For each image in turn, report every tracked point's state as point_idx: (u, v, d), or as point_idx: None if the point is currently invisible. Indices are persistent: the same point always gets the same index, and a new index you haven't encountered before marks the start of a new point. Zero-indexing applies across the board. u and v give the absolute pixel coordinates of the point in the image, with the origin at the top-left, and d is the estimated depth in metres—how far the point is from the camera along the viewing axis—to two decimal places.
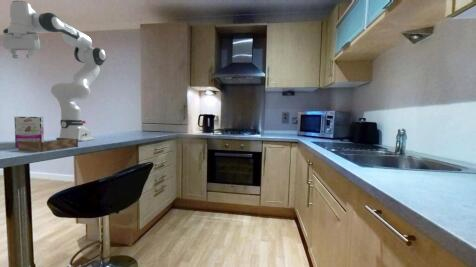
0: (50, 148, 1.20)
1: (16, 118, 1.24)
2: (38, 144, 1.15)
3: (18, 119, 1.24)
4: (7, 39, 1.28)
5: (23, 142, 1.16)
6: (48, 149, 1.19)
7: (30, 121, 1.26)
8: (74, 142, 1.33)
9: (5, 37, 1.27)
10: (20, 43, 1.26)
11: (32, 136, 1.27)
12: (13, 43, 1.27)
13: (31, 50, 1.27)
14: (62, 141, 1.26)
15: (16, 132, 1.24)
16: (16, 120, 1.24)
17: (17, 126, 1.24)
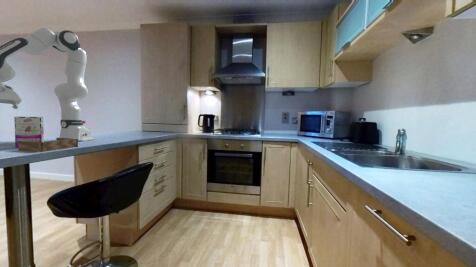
0: (50, 148, 1.20)
1: (16, 118, 1.23)
2: (38, 144, 1.15)
3: (18, 119, 1.24)
4: None
5: (23, 142, 1.16)
6: (48, 149, 1.19)
7: (30, 121, 1.26)
8: (74, 142, 1.33)
9: None
10: None
11: (32, 136, 1.27)
12: None
13: None
14: (62, 141, 1.26)
15: (16, 132, 1.24)
16: (16, 120, 1.24)
17: (17, 126, 1.24)
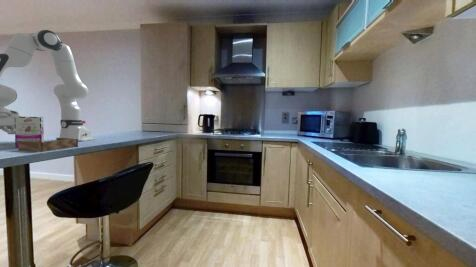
0: (50, 148, 1.20)
1: (16, 118, 1.24)
2: (38, 144, 1.15)
3: (18, 119, 1.24)
4: None
5: (23, 142, 1.16)
6: (48, 149, 1.19)
7: (30, 121, 1.26)
8: (74, 142, 1.33)
9: None
10: None
11: (32, 136, 1.27)
12: None
13: (2, 128, 1.28)
14: (62, 141, 1.26)
15: (16, 132, 1.24)
16: (16, 120, 1.24)
17: (17, 126, 1.24)
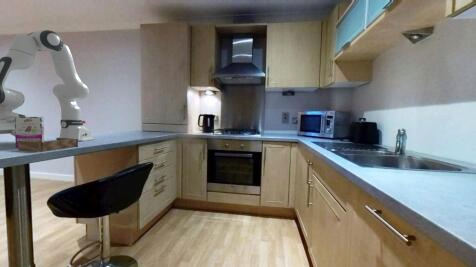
0: (50, 148, 1.20)
1: (16, 118, 1.23)
2: (38, 144, 1.15)
3: (18, 119, 1.24)
4: None
5: (23, 142, 1.16)
6: (48, 149, 1.19)
7: (30, 121, 1.26)
8: (74, 142, 1.33)
9: None
10: None
11: (32, 136, 1.27)
12: None
13: (11, 132, 1.27)
14: (62, 141, 1.26)
15: (16, 132, 1.24)
16: (17, 120, 1.23)
17: (17, 126, 1.24)
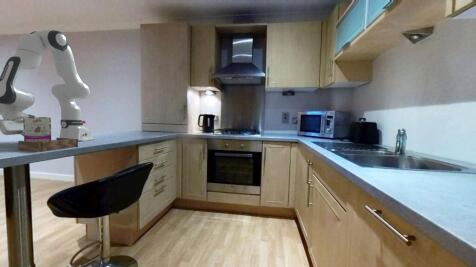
0: (50, 148, 1.20)
1: (25, 118, 1.21)
2: (38, 144, 1.15)
3: (27, 119, 1.22)
4: None
5: (23, 142, 1.16)
6: (48, 149, 1.19)
7: (39, 122, 1.25)
8: (74, 142, 1.33)
9: None
10: None
11: (41, 137, 1.26)
12: None
13: (22, 133, 1.26)
14: (62, 141, 1.26)
15: (25, 133, 1.22)
16: (25, 121, 1.22)
17: (26, 127, 1.22)
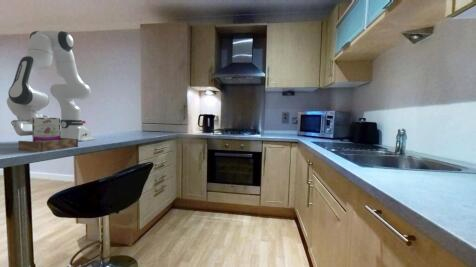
0: (50, 148, 1.20)
1: (35, 119, 1.18)
2: (38, 144, 1.15)
3: (37, 120, 1.18)
4: None
5: (23, 142, 1.16)
6: (48, 149, 1.19)
7: (49, 122, 1.22)
8: (74, 142, 1.33)
9: None
10: None
11: (51, 138, 1.23)
12: None
13: None
14: (62, 141, 1.26)
15: (35, 134, 1.18)
16: (35, 122, 1.18)
17: (36, 128, 1.18)
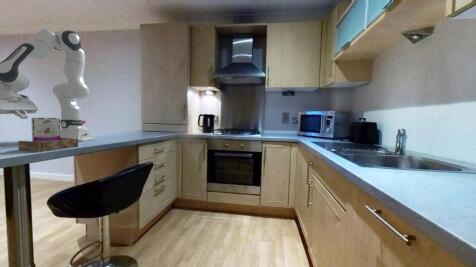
0: (50, 148, 1.20)
1: (35, 119, 1.18)
2: (38, 144, 1.15)
3: (37, 120, 1.18)
4: None
5: (23, 142, 1.16)
6: (48, 149, 1.19)
7: (49, 122, 1.22)
8: (74, 142, 1.33)
9: None
10: None
11: (51, 138, 1.23)
12: None
13: (15, 113, 1.27)
14: (62, 141, 1.26)
15: (35, 134, 1.18)
16: (35, 122, 1.18)
17: (36, 128, 1.18)
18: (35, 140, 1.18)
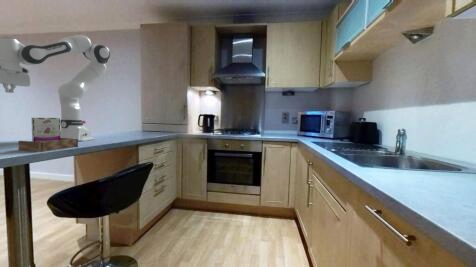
0: (50, 148, 1.20)
1: (35, 119, 1.18)
2: (38, 144, 1.15)
3: (37, 120, 1.18)
4: None
5: (23, 142, 1.16)
6: (48, 149, 1.19)
7: (49, 122, 1.22)
8: (74, 142, 1.33)
9: None
10: None
11: (51, 138, 1.23)
12: None
13: (3, 84, 1.30)
14: (62, 141, 1.26)
15: (35, 134, 1.18)
16: (35, 122, 1.18)
17: (36, 128, 1.18)
18: (35, 140, 1.18)
